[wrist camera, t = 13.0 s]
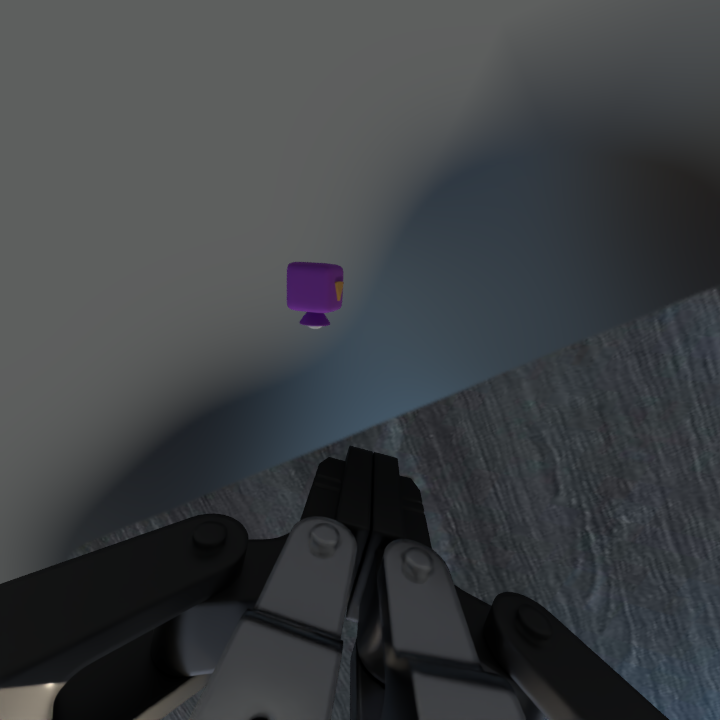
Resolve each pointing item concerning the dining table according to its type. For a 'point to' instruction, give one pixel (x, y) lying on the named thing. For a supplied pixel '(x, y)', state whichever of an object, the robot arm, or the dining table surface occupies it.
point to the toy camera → (314, 291)
